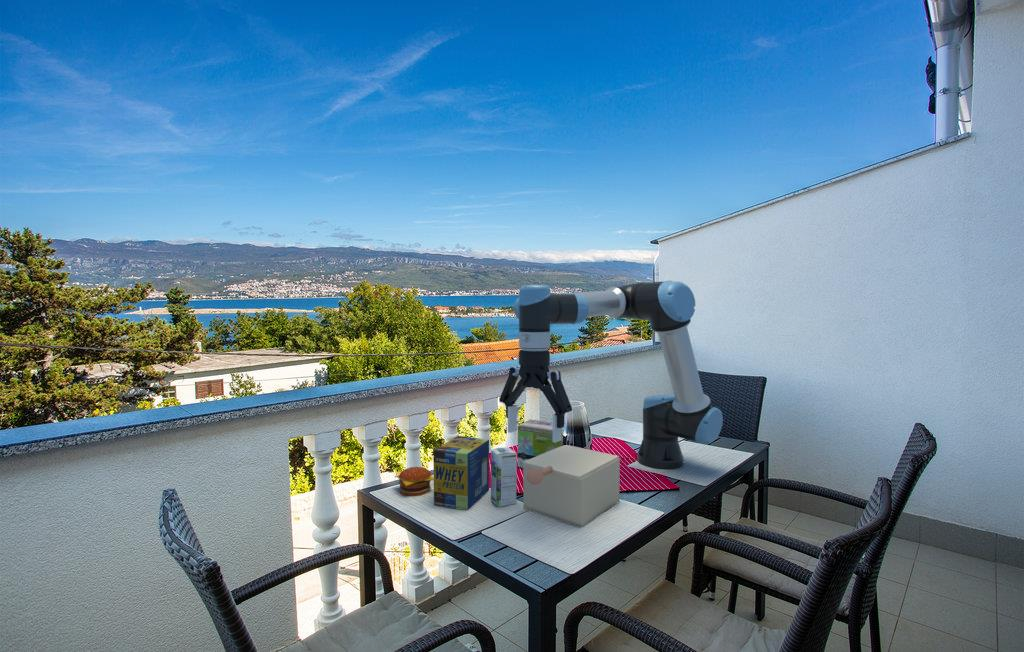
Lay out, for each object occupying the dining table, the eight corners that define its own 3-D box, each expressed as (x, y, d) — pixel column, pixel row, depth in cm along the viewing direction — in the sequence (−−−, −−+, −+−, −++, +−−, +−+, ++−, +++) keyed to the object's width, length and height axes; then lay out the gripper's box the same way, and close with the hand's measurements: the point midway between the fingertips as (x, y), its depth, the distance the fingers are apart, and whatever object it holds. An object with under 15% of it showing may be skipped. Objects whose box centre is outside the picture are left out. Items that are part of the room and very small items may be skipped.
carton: (564, 486, 147) (564, 447, 146) (619, 502, 135) (619, 459, 135) (523, 508, 131) (523, 464, 131) (581, 527, 120) (581, 479, 119)
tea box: (516, 468, 163) (516, 424, 162) (529, 460, 172) (529, 418, 171) (558, 476, 156) (558, 430, 155) (570, 466, 165) (570, 423, 164)
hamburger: (406, 499, 138) (406, 476, 138) (394, 488, 146) (393, 467, 146) (437, 491, 143) (436, 469, 143) (423, 482, 151) (423, 461, 151)
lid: (565, 451, 146) (565, 438, 146) (618, 463, 135) (619, 449, 135) (502, 478, 124) (501, 462, 124) (560, 495, 113) (560, 478, 112)
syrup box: (490, 499, 137) (489, 448, 137) (509, 496, 140) (509, 446, 139) (497, 507, 132) (497, 454, 131) (517, 503, 134) (517, 451, 134)
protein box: (433, 505, 134) (432, 449, 133) (458, 485, 148) (457, 435, 147) (467, 511, 130) (467, 453, 129) (490, 490, 144) (490, 438, 144)
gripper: (485, 347, 123) (485, 430, 124) (569, 353, 107) (568, 449, 108) (504, 345, 129) (504, 425, 130) (587, 351, 113) (586, 442, 114)
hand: (533, 436), depth 119 cm, fingers open, 13 cm apart
